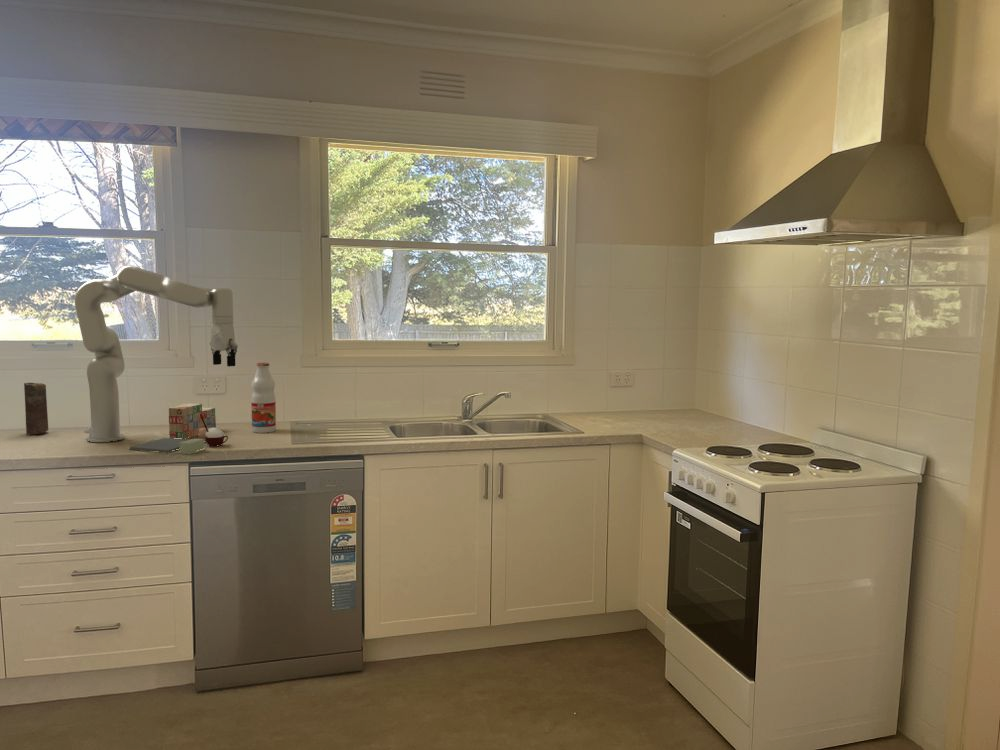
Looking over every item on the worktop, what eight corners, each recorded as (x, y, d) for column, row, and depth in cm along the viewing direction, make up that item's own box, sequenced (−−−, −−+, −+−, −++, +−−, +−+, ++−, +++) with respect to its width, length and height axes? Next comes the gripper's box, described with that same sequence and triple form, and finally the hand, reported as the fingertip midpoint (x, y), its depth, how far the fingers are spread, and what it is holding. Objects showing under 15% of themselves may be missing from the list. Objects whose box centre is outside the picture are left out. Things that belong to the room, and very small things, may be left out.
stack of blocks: (202, 429, 301) (201, 399, 300) (216, 430, 300) (215, 400, 298) (169, 439, 280) (168, 407, 279) (183, 440, 279) (182, 408, 277)
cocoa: (228, 445, 273) (229, 413, 272) (224, 447, 266) (225, 415, 266) (202, 444, 271) (203, 411, 271) (197, 446, 265) (198, 414, 264)
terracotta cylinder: (195, 442, 275) (195, 428, 274) (204, 439, 280) (203, 426, 279) (207, 442, 274) (207, 429, 273) (215, 440, 279) (215, 427, 278)
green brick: (179, 453, 255) (179, 442, 255) (195, 449, 263) (194, 438, 263) (189, 454, 254) (189, 443, 254) (204, 450, 262) (204, 439, 262)
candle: (30, 432, 288) (27, 381, 286) (51, 431, 290) (48, 381, 288) (23, 435, 281) (20, 384, 278) (45, 435, 283) (42, 383, 280)
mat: (129, 449, 259) (129, 447, 259) (164, 440, 277) (164, 437, 277) (168, 452, 255) (168, 450, 255) (201, 443, 273) (201, 440, 273)
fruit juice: (279, 429, 303) (278, 362, 300) (271, 433, 294) (270, 364, 291) (257, 428, 304) (255, 361, 301) (248, 432, 294) (246, 363, 291)
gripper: (201, 320, 282) (203, 364, 284) (226, 321, 271) (227, 367, 273) (219, 319, 288) (220, 363, 290) (244, 321, 277) (245, 366, 279)
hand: (224, 365), depth 281 cm, fingers open, 9 cm apart
